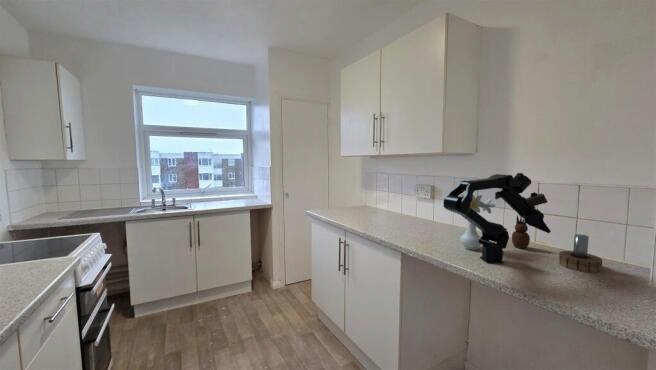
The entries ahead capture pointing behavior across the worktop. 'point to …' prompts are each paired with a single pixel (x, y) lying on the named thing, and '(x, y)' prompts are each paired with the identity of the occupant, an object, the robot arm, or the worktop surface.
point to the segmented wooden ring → (580, 262)
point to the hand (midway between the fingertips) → (546, 229)
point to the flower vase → (471, 235)
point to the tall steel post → (580, 246)
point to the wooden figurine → (520, 234)
